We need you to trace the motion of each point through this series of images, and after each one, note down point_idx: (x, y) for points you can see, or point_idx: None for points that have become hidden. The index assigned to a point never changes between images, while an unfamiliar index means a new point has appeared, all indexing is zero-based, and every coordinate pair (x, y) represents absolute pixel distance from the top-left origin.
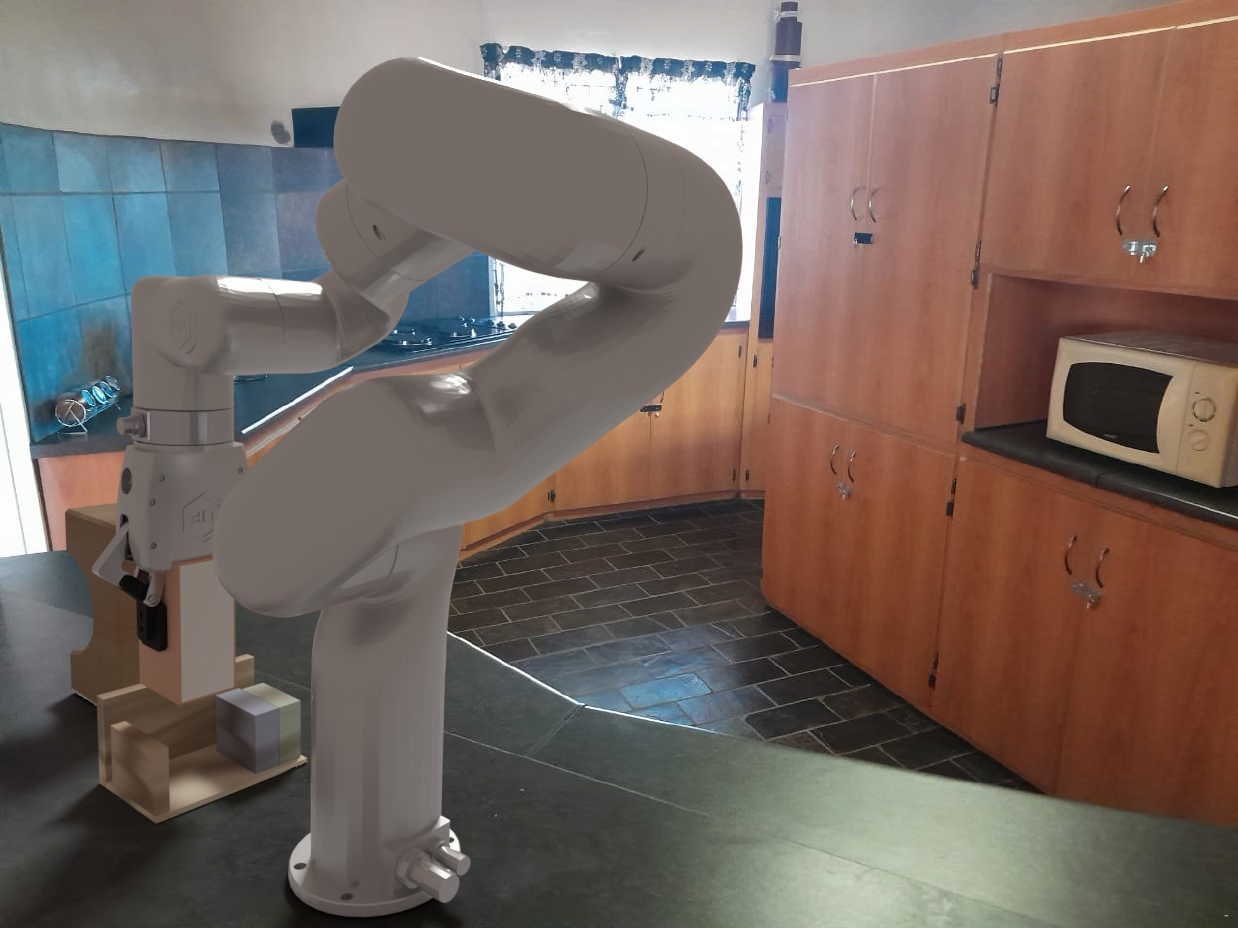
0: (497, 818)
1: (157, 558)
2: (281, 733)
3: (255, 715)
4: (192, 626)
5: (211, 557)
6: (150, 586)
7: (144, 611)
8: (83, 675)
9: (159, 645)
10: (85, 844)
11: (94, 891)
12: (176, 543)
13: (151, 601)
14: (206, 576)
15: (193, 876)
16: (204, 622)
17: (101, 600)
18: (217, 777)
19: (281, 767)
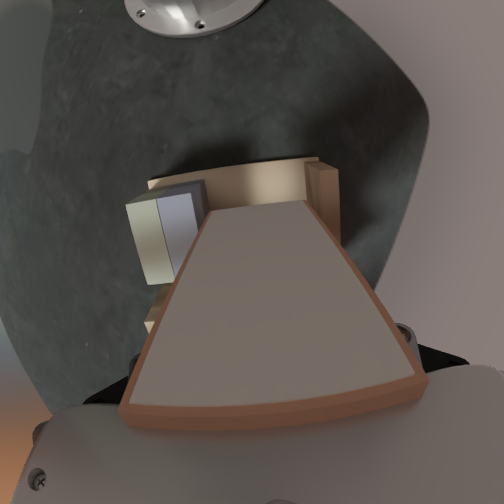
0: (83, 6)
1: (492, 396)
2: (163, 191)
3: (190, 194)
4: (304, 250)
5: (242, 419)
6: (418, 359)
7: None
8: None
9: None
10: (372, 166)
11: (388, 94)
12: (442, 475)
13: None
14: (273, 343)
15: (324, 55)
16: (270, 255)
17: None
18: (239, 196)
19: (176, 176)
